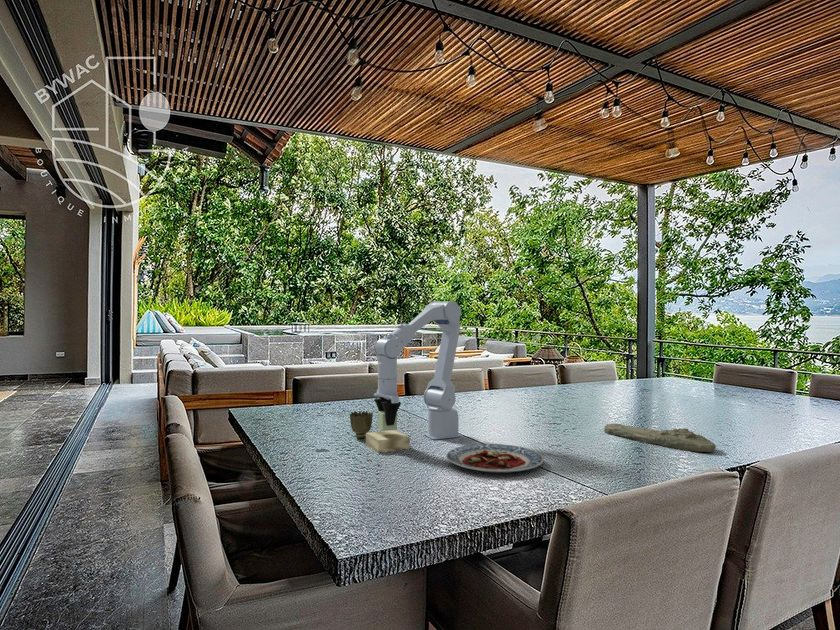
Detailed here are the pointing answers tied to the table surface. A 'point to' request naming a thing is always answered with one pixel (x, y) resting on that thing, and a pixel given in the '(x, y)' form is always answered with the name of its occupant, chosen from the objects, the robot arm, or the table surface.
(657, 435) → the elongated rock
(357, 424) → the cup
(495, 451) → the ceramic plate
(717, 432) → the table surface
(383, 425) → the green block
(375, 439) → the birch block
